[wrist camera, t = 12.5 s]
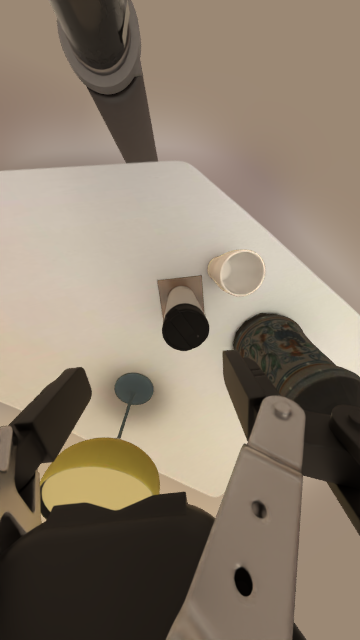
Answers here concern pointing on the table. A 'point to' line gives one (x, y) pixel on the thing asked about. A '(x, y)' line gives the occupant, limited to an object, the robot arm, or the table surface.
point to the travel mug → (184, 320)
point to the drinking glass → (237, 272)
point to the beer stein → (296, 364)
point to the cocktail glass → (104, 464)
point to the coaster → (189, 282)
